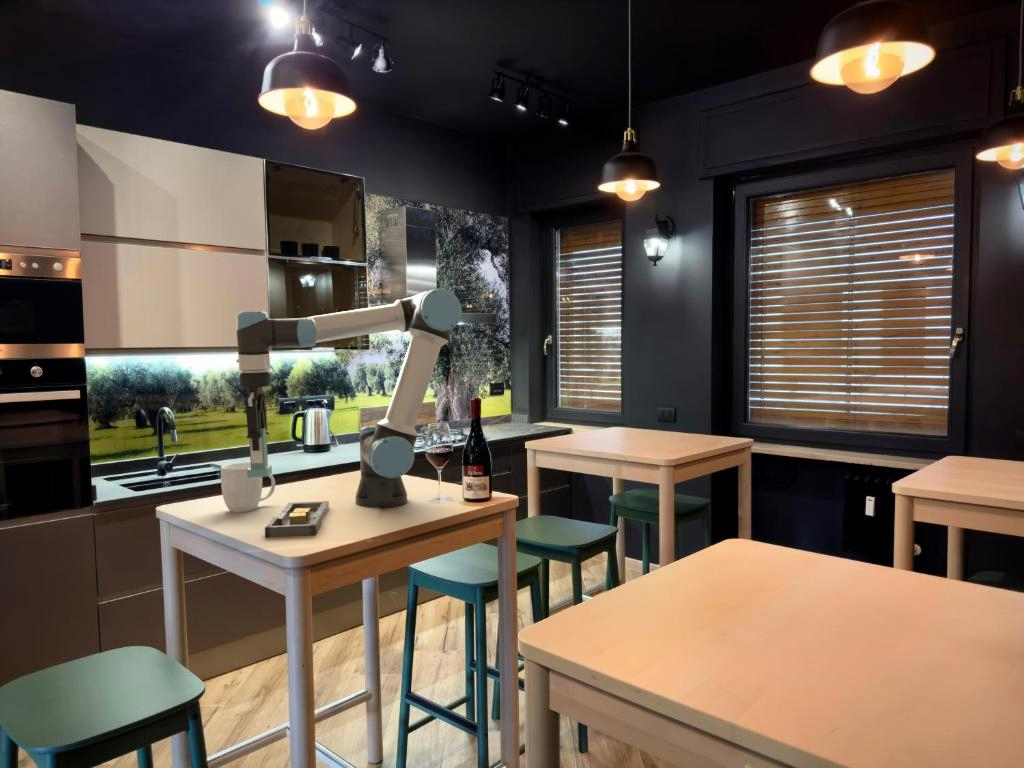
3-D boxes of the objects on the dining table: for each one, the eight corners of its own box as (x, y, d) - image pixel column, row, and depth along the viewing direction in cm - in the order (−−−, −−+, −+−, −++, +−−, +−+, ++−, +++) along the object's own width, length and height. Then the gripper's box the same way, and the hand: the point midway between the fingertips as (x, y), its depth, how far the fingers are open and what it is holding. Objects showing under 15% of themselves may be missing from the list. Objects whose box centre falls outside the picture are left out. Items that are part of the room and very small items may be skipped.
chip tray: (321, 526, 179) (321, 514, 179) (315, 537, 169) (315, 525, 169) (273, 528, 178) (273, 517, 178) (265, 539, 168) (264, 527, 168)
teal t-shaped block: (271, 472, 182) (269, 427, 181) (267, 476, 177) (265, 430, 176) (252, 473, 182) (249, 428, 181) (247, 477, 177) (245, 431, 176)
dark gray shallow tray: (328, 509, 197) (328, 501, 197) (319, 526, 179) (319, 516, 179) (289, 511, 196) (288, 502, 195) (275, 528, 178) (275, 518, 178)
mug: (268, 502, 207) (267, 459, 207) (282, 508, 199) (281, 463, 198) (217, 510, 198) (215, 465, 197) (229, 517, 190) (227, 470, 189)
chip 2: (311, 516, 187) (310, 507, 187) (308, 520, 183) (308, 511, 183) (295, 517, 187) (295, 508, 186) (293, 521, 183) (292, 512, 182)
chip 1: (306, 521, 183) (305, 511, 183) (305, 524, 179) (305, 515, 179) (290, 522, 182) (290, 513, 182) (289, 526, 178) (289, 516, 178)
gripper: (247, 370, 185) (252, 456, 187) (230, 373, 169) (235, 468, 170) (276, 369, 186) (280, 455, 188) (262, 372, 170) (267, 466, 171)
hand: (259, 461), depth 179 cm, fingers closed on teal t-shaped block, 3 cm apart
